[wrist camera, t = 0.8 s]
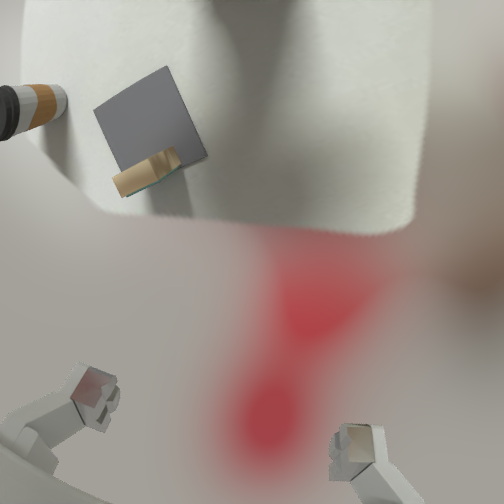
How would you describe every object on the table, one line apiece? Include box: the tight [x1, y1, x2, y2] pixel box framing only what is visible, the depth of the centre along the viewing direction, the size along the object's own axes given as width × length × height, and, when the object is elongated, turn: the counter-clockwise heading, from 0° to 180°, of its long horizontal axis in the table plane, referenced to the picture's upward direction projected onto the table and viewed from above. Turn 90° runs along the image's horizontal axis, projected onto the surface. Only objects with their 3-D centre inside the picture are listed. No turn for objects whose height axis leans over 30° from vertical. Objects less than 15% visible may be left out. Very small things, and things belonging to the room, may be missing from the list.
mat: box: [93, 66, 207, 172], centre depth 43 cm, size 15×14×1 cm
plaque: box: [112, 146, 181, 198], centre depth 41 cm, size 3×6×9 cm, turn 112°
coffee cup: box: [0, 84, 67, 141], centre depth 35 cm, size 8×8×15 cm
